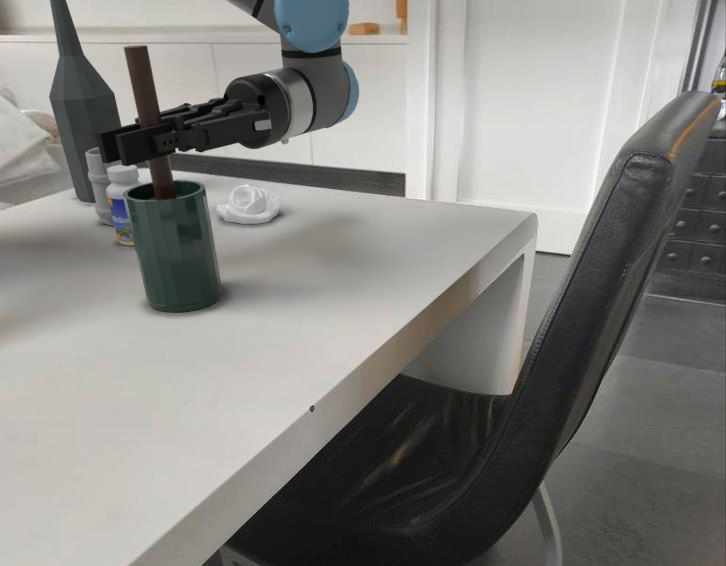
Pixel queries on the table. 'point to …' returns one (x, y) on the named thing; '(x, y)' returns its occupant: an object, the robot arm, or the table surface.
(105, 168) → the mug
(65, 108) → the bottle
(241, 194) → the rose
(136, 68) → the brush
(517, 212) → the table surface
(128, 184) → the pill bottle
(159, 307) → the dark green pencil cup
